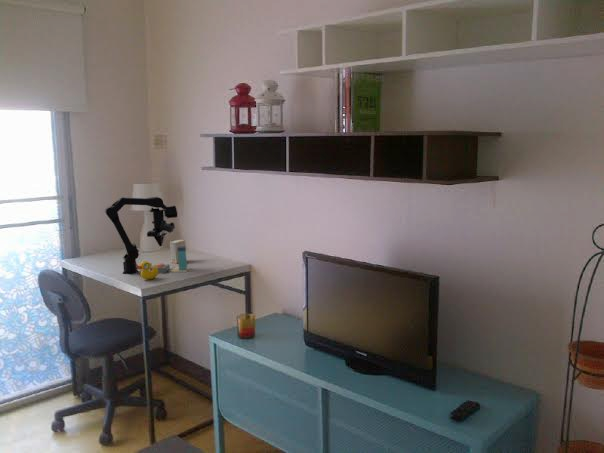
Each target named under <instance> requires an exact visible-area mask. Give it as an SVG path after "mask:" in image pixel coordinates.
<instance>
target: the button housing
mask: <svg viewBox="0 0 604 453" xmlns="http://www.w3.org/2000/svg"><path fill="white" fill-rule="evenodd" d="M163 264H164V266H163V267H157V268H158V274H165V273H166V272H167V271H168V270H170V269H171V265H170V264H165V263H163ZM154 266H156V264H154V265H152V266H151V268H150V270H149V271H152V269H153V267H154ZM167 273H168V272H167Z"/></svg>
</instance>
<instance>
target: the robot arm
mask: <svg viewBox="0 0 604 453" xmlns="http://www.w3.org/2000/svg"><path fill="white" fill-rule="evenodd" d="M125 205H127V206H128V205H131V206H148V207H151V208H150V209H149V210H148V212H150V213H152V218H153V220H152V221H151V223H152V224H153V228H152V230H149V231H147V232H146V237H148V238H149V237H151V238H152V237H153V238H154V240H155V241H156V243H157V244H158V246H159V247H162V246H163V243H164V239H165V236H166V235H167V234H168V233H172V232H174V230H175V228H176V225H175V223H174V222H169V223H167V220H166V219H174V218H178V210H177V207H176V205H170V206H167V205H166V204H165V203H164V200H163V199H162V198H161V197H159V196H152V197H150V196H149V197H146V198H144V197H124V196H121V197H119V199H118V200H116V201H115V202H113V204H112V205H108V206H106V207H105V210H104V213H105V215H106V216H107V217H108V218H109V220H110V221H111V222H112V224H113V225H114V227H115V229H116V231H117V233H118V235H119V237H120V239H121V241H122V243H123V246H124V249H125V252H126V254H124V255H123V257H122V259H123V260H124V261H123V264H122V265H123V272H122V274H125V275H126V274H130V275H133V274H135V273H138V271H139V269H137V267H136V265H138V264H137V261H136V260H137V259H138V258H139V256H140V254H139V252H140V251H139V249H138V247H137V245H136V243H132V242H131V240H130V238H129V236H128V234H127V232H126V230H125V228H124V227H123V224H122V223H121V220H120V217H119V211H121V209H122V208H123V207H124V206H125ZM160 208H161V209H160ZM165 217H166V219H165Z"/></svg>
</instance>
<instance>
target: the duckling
mask: <svg viewBox="0 0 604 453" xmlns="http://www.w3.org/2000/svg"><path fill="white" fill-rule="evenodd" d="M152 266H154V265H153V263H151V262H149V261H145V260H144V261H142V262H141V263H140V265H139V264H137V265H136V267H137V270H138V271H139V270H140V271H141V272H140V277H141V278H142V279H143V280H146V281H149V280H153V279H155V278H156V277H157V276H158V275H159V273H158V268H157V267H156V266H154V267H153V269H152V271H150V268H151V267H152Z"/></svg>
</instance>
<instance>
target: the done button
mask: <svg viewBox="0 0 604 453" xmlns="http://www.w3.org/2000/svg"><path fill="white" fill-rule="evenodd" d="M164 264H165V263H164V262H163V263H162V262H161V263H156V264H155V265H156V267H163V266H164Z"/></svg>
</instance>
